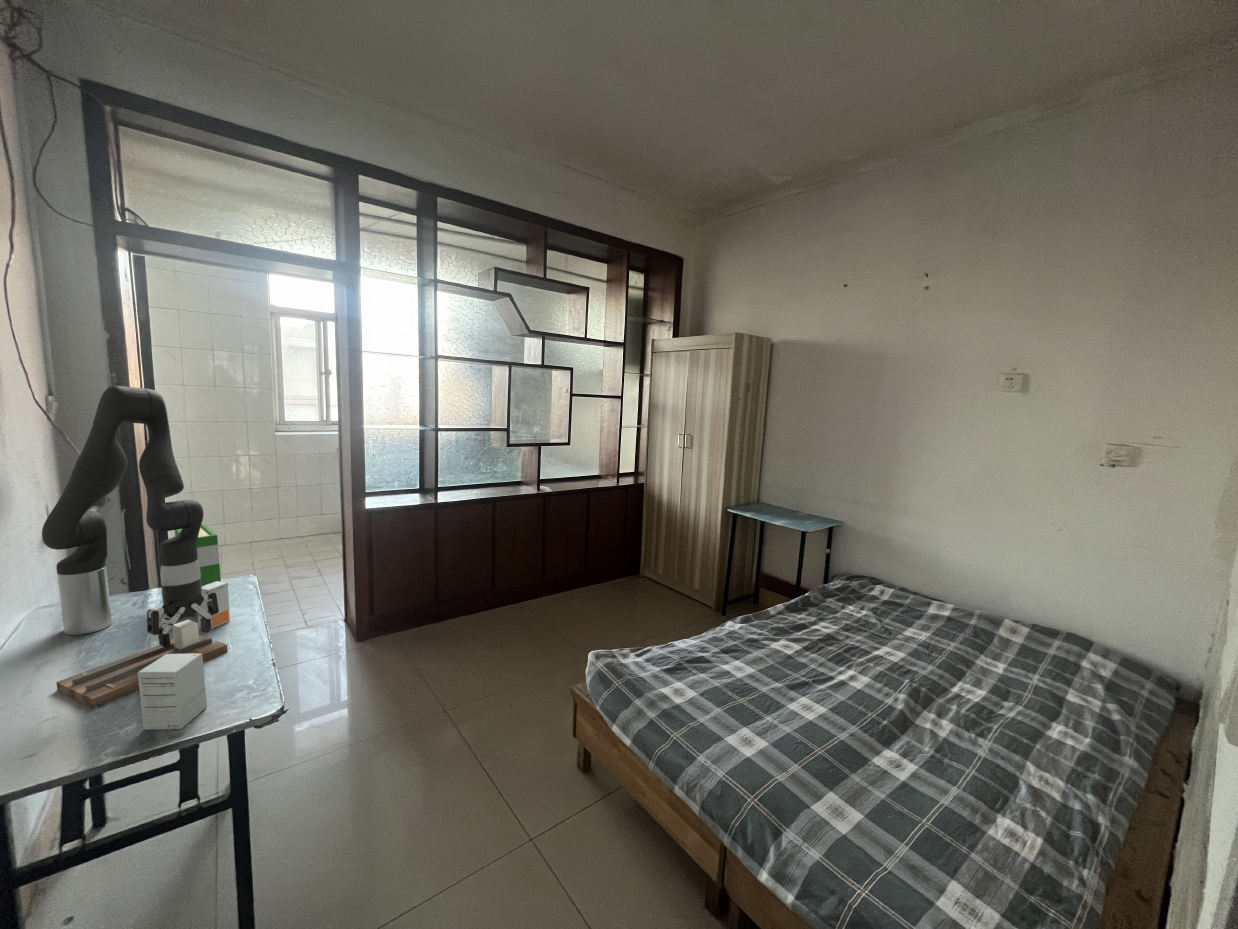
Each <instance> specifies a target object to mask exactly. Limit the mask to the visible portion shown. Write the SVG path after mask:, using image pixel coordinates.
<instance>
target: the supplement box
mask: <svg viewBox="0 0 1238 929" xmlns="http://www.w3.org/2000/svg"><path fill="white" fill-rule="evenodd" d="M204 671H205V670H204V662H203V657H202V654H198V653H191V654H165V655H164V656H162V657H161V658H159V659H158V660H156V661H155V662H153V663H152V664H150V665H148V666H147V667H145V668H144V669H142V670H141V671H139V672H138V681H139V689H138V690H139V696H140V698H139V699H140V707H141V708H140V709H141V716H142V717H141V718H142V725H143V730H153V731H154V730H177V729H178V730H180V729H183V728H184V727H185V726H186V725H188V724H189V723H190V722H191V721H193V720H194V719H195V718H196V717H197V716H198V715H199V714H200V713H202V711H204V710H205V709H206V708H207V707H208V703H207V693H206V690H207V689H206V682H205V672H204Z"/></svg>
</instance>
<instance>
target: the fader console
mask: <svg viewBox="0 0 1238 929" xmlns="http://www.w3.org/2000/svg"><path fill="white" fill-rule="evenodd" d="M170 645H171V646H170V647H168V648H165V647H163V646H161V645H160V644H158V645H155V646H151V647H149V648H146V649H144V650H142V651H138V652H135V653H132V654H130V655H127V656H124V657H122V658H118V659H116V660H112V661H111V662H108V663H105V664H102V665H100V666H97V667H94V668H92V669H88V670H86V671H84V672H80V673H77V674H74V675H72V676H69V677H66V678H64V679H61V680H59V681H56V689H57V690H56V691H58V692H60V693H62V694H64V695H66V696H68V697H70V698H72V699H75V700H77V701H79V702H81V703H83V704H85V705H87V706H89V707H91V708H96V707H98V706H102V705H103V704H106V703H108V702H110V701H113V700H115V699H117V698H120V697H123V696H124V695H127V694H130V693H133V692H135V691H137V690H139V681H138V672H139V671H141V670H142V669H144V668H145V667H147V666H148V665H150V664H152V663H153V662H155V661H156V660H158V659H159V658H161V657H162V656H164V655H165V654H191V653H198V654H202V657H203V663H204V662H207V661H208V660H212V659H214V658H216V657H218V656H220V655H223V654H225V653H227V652H228V644H226V643H223V642H221V641H218V640H215V639H213V637H209V638H208V637H206V636H203V635H200V634H199V642H198V643H195V644H193V645H190V646H187V647H185V648H182V649H178V648H175V647H174V640H173V639H170Z"/></svg>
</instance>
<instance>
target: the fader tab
mask: <svg viewBox="0 0 1238 929" xmlns="http://www.w3.org/2000/svg"><path fill="white" fill-rule="evenodd" d="M171 628H172V638H173V639H172V640H174V647H175V648H178V649H182V648H185V647H187V646H190V645H193V644H195V643H198V642H199V635H200V634H199V623H198V621H194V620H191V619H186V620H183V621H180V622H176V623H175V624H174V625H173V626H172V627H171Z"/></svg>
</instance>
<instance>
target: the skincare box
mask: <svg viewBox="0 0 1238 929" xmlns="http://www.w3.org/2000/svg"><path fill="white" fill-rule="evenodd" d="M208 591H210V592H214V593H216V595H217V602H218V608H219V612H218V613H217V614H214V615H213V616H211V629H210V630H213V629H214V628H216V627H217V628H218V627H219V626H221V625H223V624H226V623H229V622H230V621H231V619H230V617H231V616H230V600H229V599H230V598H229V583H228V582H225V581H224V582H223V581H221V582H218V581H216V582H213V583H210V584H207V585H205V586H202V593H201V594H202V595H204V594H206V592H208ZM200 607H201V608H203V609H204V610H206V612H207V611H208V606H207V601H205V600H204V601H203V602H202V604H201V606H200ZM201 618H202V617H201V616H199V615H198V616H197V623H198V629H201V621H200V619H201Z"/></svg>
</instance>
